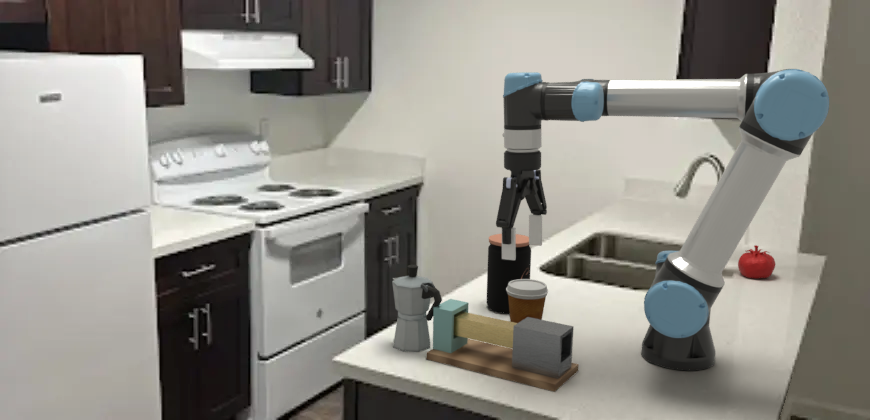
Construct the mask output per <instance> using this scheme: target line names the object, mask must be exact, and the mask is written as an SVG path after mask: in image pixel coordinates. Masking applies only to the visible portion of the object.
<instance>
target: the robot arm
mask: <svg viewBox="0 0 870 420" xmlns="http://www.w3.org/2000/svg"><path fill="white" fill-rule="evenodd" d="M503 80H504V82H503V95H502V98H503V133H502V137H503V144H504V145H503V148H504V149H506V150H505V151H504V152H503V167H504V169H505V170H506V171H510V177H508V176H507V177H506V176H504V177H503V179H502V189H501V195H500V201H499V205H498V210H497V216H496V222H495V226H496V228H501V234H502V259H506V260H516V234H517V233H516V232H517V231H516V227H514V226H515V222H516V219H517V217H518V213H519V209H520V206H521V202H522V201H523V200H525V201H526V204H527V206H528V209H529V211H530V214H528V237H529V246H539V247H542V245H543V216H544V215H545V216H546V215H547V213H548V211H547V207H548V206H547V202H546V201H547V200H546V198H545V197H546V195H545V191H544V187H543V182H542V170H541V168H542V152H541V150H539V149H540V148H542V146H543V145H542V121H547V122H548V121H560V122H561V121H563V122H565V121H567V122H570V121H571V122H582V123H584V122H594V121H595V122H596V121H598V120H600V119H601V118H602V117H644V118H645V117H648V118H650V117H654V118H655V117H656V118H657V117H658V118H706V119H707V118H709V119H710V118H712V119H713V118H716V119H719V118H720V119H721V118H723V119H738V120H739V121H740V124H739V126H738V131H739V135H740V142H739V143H738V145H737V147H736V149H735V151H734V153H733V155H732V156H731V158H730V160H729V162H728V163H727V166H726V167H725V169H724V171H723V172H722V174H721V176H720V178H719V180H718V181H717V183H716V185H715V187H714V188H713V191H712V193H710V196H709V198H708V199H707V201H706V204H705V205H704V206H703V209H702V210H701V212H700V214H699V215H698V217H697V219H696V221H695V223H694V225H693V226H692V228H691V230H690V232H689V234H688V235H687V238H686V239H685V241H684V243H683V244H682V246H681V248H680V250H662V251H660V252H659V253H658V254H657V255H656V261H655V266H656V267H655V276H654V279H653V281H652V283H651V285H650V288H649V289H648V290H647V292H646V293H645V296H644V300H643V309H644V310H643V311H644V314H645V318H646V320H647V322H648V323H649V326H648V328H647V331H646V333H645V335H644V337H643V339H642V343H641V351H640V353H641V357H642V358H644V360H646V361H648V362H650V363H651V364H653V365H656V366H659V367H662V368H666V369H672V370H677V371H701V370H706V369H708V368H709V369H710V367H713V366H714V365H715V363H716V348H715V345H714V344H715V343H714V340H713V336H712V332H711V329H710V323H711V322H710V321H711V310H712V307H713V305H714V303H715V302H716V300H717V298H718V296H719V295H720V293H721V292H722V290H723V288H724V286H725V279H724V276H723V271H724V269H725V267H726V266H727V264H728V262H729V261H730V259H731V257H732V256H733V254H734V252H735V251H736V249H737V246H738V245H739V243H740V242H741V240H742V239H743V237H744V235H745V234H746V232H747V230H748V228H749V226H750V225H751V223H752V221H753V219H754V218H755V216H756V214H757V213H758V211H759V209H760V208H761V206H762V205H763V202H764V200H765V199H766V197H767V196H768V194H769V192H770V190H771V189H772V187H773V185H774V183H775V182H776V180H777V179H778V176H779V175H780V173H781V171H782V170H783V167H784V166H785V164H786V163H787V162H788V161H789V160H792V159H796V158H799V157H801V155H802V153H803V151H804V150H805V148H806V147H807V145H808V143H809V141H810V140H811V137H812V136H813V134H814V133H815V132H816V131H818V130H819V128H820V127H821V126H822V125H823V124H824V122H825V121H826V118H827V116H828V113H829V109H830V97H829V93H828V90H827V87H826V86H825V85H824V83H823V81H822V80H821V79H819V77H818V76H816V75H815V74H812V73H810V72H809V71H805V70H802V69H798V68H786V69H780V70H777V71H776V70H775V71H771V72H769V71H768V72H762V73H761V72H759V73H745V74H744V75H742V76H741V77H740V78H736V79H735V78H718V79H717V78H707V79H706V78H703V79H702V78H701V79H700V78H692V79H690V78H688V79H679V78H678V79H676V78H675V79H673V78H672V79H669V78H668V79H666V78H665V79H660V78H659V79H654V78H653V79H594V78H583V79H580V80H576V81H565V82H564V81H563V82H557V81H556V82H546V81H543V79H542V73H541V72H532V71H531V72H527V71H526V72H524V71H523V72H510V73H507V74H506V75H505V77H504V79H503Z"/></svg>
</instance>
